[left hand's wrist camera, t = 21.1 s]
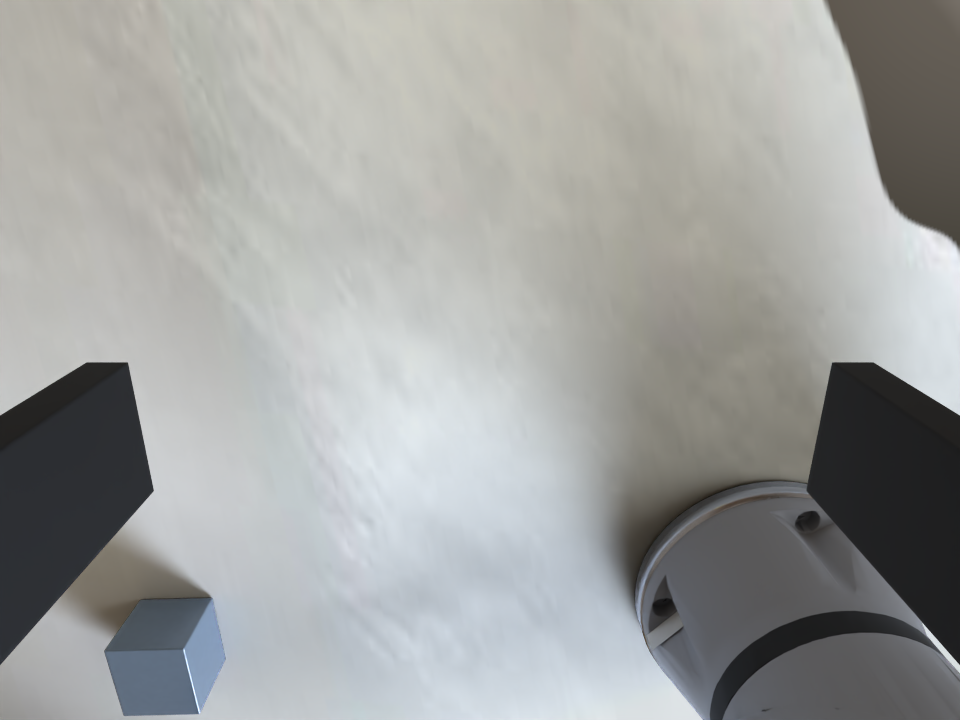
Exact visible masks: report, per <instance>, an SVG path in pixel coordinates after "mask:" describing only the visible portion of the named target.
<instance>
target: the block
mask: <svg viewBox="0 0 960 720" xmlns="http://www.w3.org/2000/svg"><path fill="white" fill-rule="evenodd" d="M104 652H105V655H106V659H107V662H108V665H109V669H110V672H111V675H112V679H113V682H114V685H115V689H116V692H117V695H118V698H119V702H120V705H121V708H122V712H123V715H124V716H143V715H182V714H200V712H201V710H202V708H203V706H204V704H205V702H206V700H207V698H208V695H209V693H210V691H211V689H212V687H213V685H214V683H215V681H216V678H217V676H218V674H219V672H220V670H221V668H222V666H223V664H224V661H225V654H224V649H223V645H222V640H221V636H220V631H219V627H218V622H217V618H216V613H215V608H214V604H213V599H212V598H186V599H150V600H140V601H139V602H138V604H137V605H136V607H135V608H134V609H133V611H132V612H131V614H130V615H129V617H128V618H127V619H126V621H125V622H124V624H123V625H122V626H121V628H120V629H119V631H118V632H117V633H116V635H115V636H114V638H113V639H112V641H111V642H110V643H109V645H108V646H107V648H106V649H105V651H104Z"/></svg>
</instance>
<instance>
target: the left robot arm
mask: <svg viewBox="0 0 960 720" xmlns="http://www.w3.org/2000/svg"><path fill="white" fill-rule="evenodd" d="M153 491H154V490H153V485H152V480H151V475H150V470H149V465H148V460H147V455H146V450H145V445H144V440H143V435H142V430H141V425H140V420H139V415H138V410H137V405H136V401H135V396H134V391H133V386H132V381H131V376H130V371H129V366H128V363H85V364H84V365H82V366H80V367H79V368H77V369H75V370H74V371H72V372H70V373H69V374H67V375H66V376H64V377H62V378H61V379H59V380H57V381H56V382H54V383H53V384H51V385H49V386H48V387H46V388H44V389H43V390H41V391H39V392H38V393H36V394H35V395H33V396H31V397H30V398H28V399H26V400H25V401H23V402H22V403H20V404H18V405H17V406H15V407H13V408H12V409H10V410H9V411H7V412H5V413H4V414H2V415H0V665H1V663H2V662H3V661H4V660H5V659H6V658H7V657H8V655H9V654H10V653H11V652H12V651H13V650H14V649H15V648H16V646H17V645H18V644H19V643H20V642H21V641H22V640H23V638H24V637H25V636H26V635H27V634H28V633H29V632H30V631H31V629H32V628H33V627H34V626H35V625H36V624H37V623H38V621H39V620H40V619H41V618H42V617H43V616H44V615H45V614H46V612H47V611H48V610H49V609H50V608H51V607H52V606H53V604H54V603H55V602H56V601H57V600H58V599H59V598H60V597H61V595H62V594H63V593H64V592H65V591H66V590H67V589H68V587H69V586H70V585H71V584H72V583H73V582H74V581H75V580H76V578H77V577H78V576H79V575H80V574H81V573H82V572H83V570H84V569H85V568H86V567H87V566H88V565H89V564H90V563H91V561H92V560H93V559H94V558H95V557H96V556H97V555H98V553H99V552H100V551H101V550H102V549H103V548H104V547H105V546H106V544H107V543H108V542H109V541H110V540H111V539H112V538H113V537H114V535H115V534H116V533H117V532H118V531H119V530H120V529H121V527H122V526H123V525H124V524H125V523H126V522H127V521H128V520H129V518H130V517H131V516H132V515H133V514H134V513H135V512H136V510H137V509H138V508H139V507H140V506H141V505H142V504H143V503H144V501H145V500H146V499H147V498H148V497H149V496H150V495H151V493H152V492H153ZM635 606H636V612H637V617H638V620H639V623H640V626H641V629H642V632H643V635H644V638H645V642H646V644H647V646H648V649H649V651H650V653H651V654H652V656H653V657H654V659H655V661H656V662H657V663H658V665H659V666H660V668H661V669H662V670H663V672H664V673H665V674H666V675H667V676H668V678H669V679H670V680H671V681H672V683H673V684H674V685H675V686H676V687H677V689H678V690H679V691H680V692H681V693H682V695H683V696H684V697H685V698H686V700H687V701H688V702H689V703H690V704H691V706H692V707H693V708H694V709H695V711H696V712H697V713H698V714H699V715H700V717H701V718H702V719H703V720H960V673H959V672H958V671H957V670H956V669H955V668H954V666H953V665H952V664H951V663H950V662H949V661H948V660H947V659H946V658H945V657H944V655H943V654H942V653H941V652H940V651H939V650H938V648H937V647H936V646H935V645H934V644H933V643H932V641H931V640H930V639H929V638H928V637H927V635H926V633H925V630H924V627H923V625H922V623H923V624H924V625H925V626H926V627H927V628H928V629H929V631H930V632H931V633H932V634H933V635H934V636H935V637H936V638H937V640H938V641H939V642H940V643H941V644H942V645H943V646H944V648H945V649H946V650H947V651H948V652H949V653H950V654H951V655H952V657H953V658H954V659H955V660H956V661H957V662H958V663H959V665H960V415H958V414H956V413H955V412H953V411H951V410H950V409H948V408H947V407H945V406H943V405H942V404H940V403H938V402H937V401H935V400H934V399H932V398H930V397H929V396H927V395H925V394H924V393H922V392H921V391H919V390H917V389H916V388H914V387H912V386H911V385H909V384H907V383H906V382H904V381H903V380H901V379H899V378H898V377H896V376H894V375H893V374H891V373H890V372H888V371H886V370H885V369H883V368H881V367H880V366H878V365H876V364H875V363H832V366H831V371H830V376H829V381H828V386H827V391H826V396H825V401H824V405H823V410H822V415H821V420H820V425H819V430H818V435H817V440H816V445H815V450H814V455H813V460H812V465H811V470H810V475H809V480H808V484H804V483H797V482H786V481H771V482H759V483H752V484H747V485H742V486H738V487H735V488H731V489H728V490H725V491H722V492H720V493H717V494H715V495H713V496H710V497H708V498H706V499H704V500H702V501H700V502H699V503H697V504H695V505H693V506H692V507H690V508H689V509H688V510H686V511H685V512H683V513H682V514H681V515H679V516H678V517H677V518H676V519H674V520H673V521H672V522H671V523H670V524H669V525H668V526H667V527H666V528H665V529H664V530H663V531H662V532H661V534H660V535H659V536H658V537H657V538H656V540H655V541H654V543H653V544H652V545H651V547H650V548H649V550H648V552H647V554H646V556H645V557H644V560H643V562H642V564H641V567H640V570H639V573H638V577H637V582H636V587H635ZM921 621H922V622H921Z"/></svg>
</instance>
